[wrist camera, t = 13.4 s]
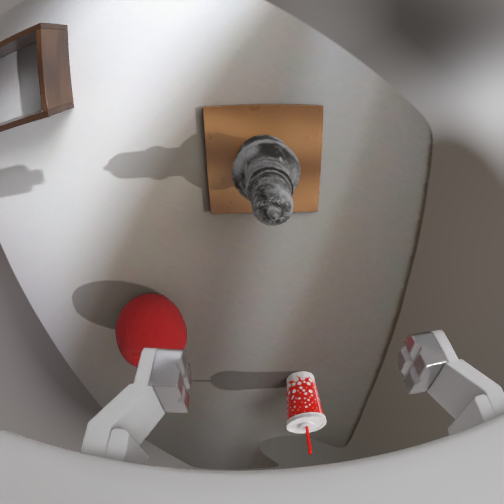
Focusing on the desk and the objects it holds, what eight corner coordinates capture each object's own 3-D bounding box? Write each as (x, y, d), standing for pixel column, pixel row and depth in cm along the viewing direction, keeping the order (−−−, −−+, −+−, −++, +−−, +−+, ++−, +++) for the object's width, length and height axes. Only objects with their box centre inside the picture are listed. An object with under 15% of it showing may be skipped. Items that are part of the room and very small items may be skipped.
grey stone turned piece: (249, 198, 32) (252, 270, 22) (222, 147, 29) (209, 198, 19) (303, 175, 31) (334, 237, 20) (279, 121, 28) (301, 157, 18)
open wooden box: (-24, 65, 21) (-51, 72, 17) (67, 24, 21) (40, 22, 17) (-15, 134, 26) (-41, 147, 22) (74, 107, 26) (48, 116, 22)
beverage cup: (274, 379, 50) (280, 455, 38) (305, 363, 48) (318, 443, 36) (295, 392, 52) (303, 463, 40) (324, 378, 50) (338, 451, 38)
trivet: (203, 106, 27) (202, 107, 27) (322, 105, 27) (323, 105, 27) (211, 212, 33) (210, 214, 33) (316, 209, 33) (317, 211, 33)
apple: (118, 279, 38) (92, 338, 29) (188, 282, 38) (175, 345, 30) (132, 330, 43) (115, 386, 34) (193, 334, 43) (185, 394, 35)
